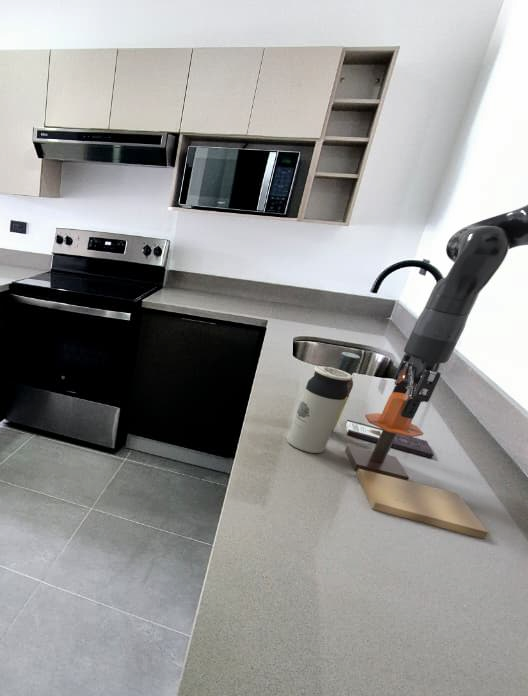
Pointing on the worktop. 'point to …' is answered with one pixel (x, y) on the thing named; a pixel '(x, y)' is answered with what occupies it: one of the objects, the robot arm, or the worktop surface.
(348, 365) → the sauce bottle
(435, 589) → the worktop surface
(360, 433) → the chocolate bar
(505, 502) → the worktop surface
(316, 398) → the travel mug
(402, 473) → the hat stand
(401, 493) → the oak board
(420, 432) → the hat
